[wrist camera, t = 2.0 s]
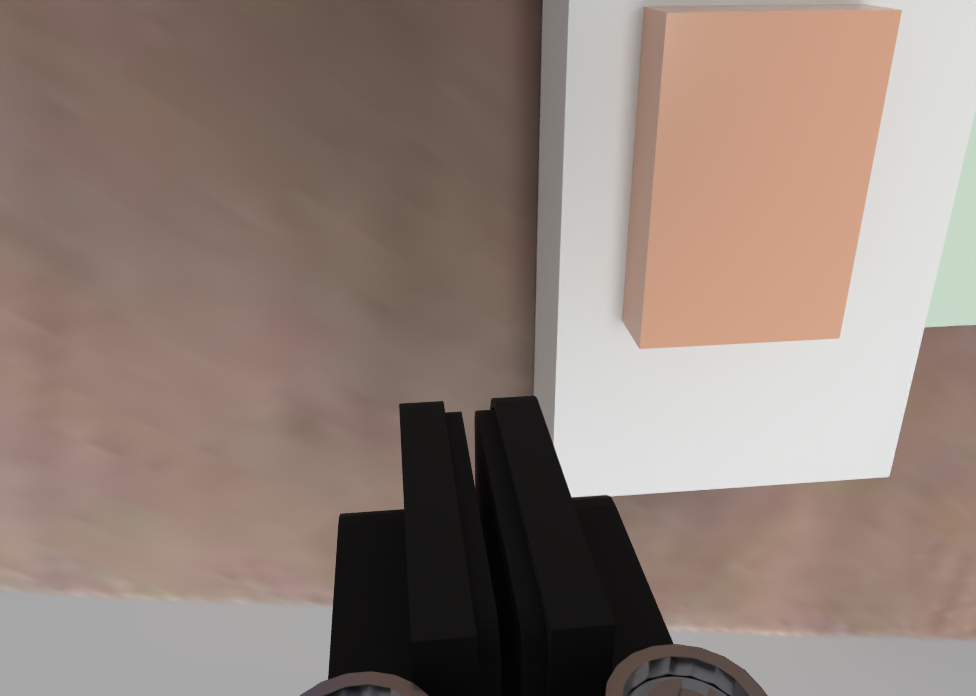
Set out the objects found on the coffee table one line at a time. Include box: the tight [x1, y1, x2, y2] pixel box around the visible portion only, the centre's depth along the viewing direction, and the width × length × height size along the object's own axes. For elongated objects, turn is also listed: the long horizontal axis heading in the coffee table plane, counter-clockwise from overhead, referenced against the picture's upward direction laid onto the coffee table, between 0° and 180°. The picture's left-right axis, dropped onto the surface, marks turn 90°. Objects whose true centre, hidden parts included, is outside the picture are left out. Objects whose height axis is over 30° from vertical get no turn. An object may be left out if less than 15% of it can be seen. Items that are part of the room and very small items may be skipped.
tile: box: [622, 4, 902, 349], centre depth 24 cm, size 9×6×2 cm, turn 0°
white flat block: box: [534, 0, 976, 497], centre depth 27 cm, size 22×12×4 cm, turn 0°
